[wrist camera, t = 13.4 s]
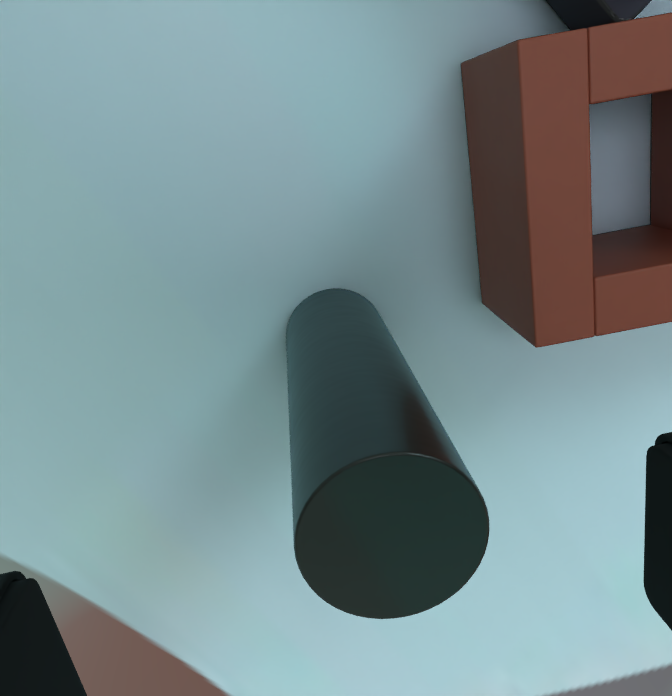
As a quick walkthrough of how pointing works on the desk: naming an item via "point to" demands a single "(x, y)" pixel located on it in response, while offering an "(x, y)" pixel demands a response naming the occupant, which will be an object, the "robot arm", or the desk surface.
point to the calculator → (596, 11)
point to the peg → (373, 469)
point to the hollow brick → (567, 181)
